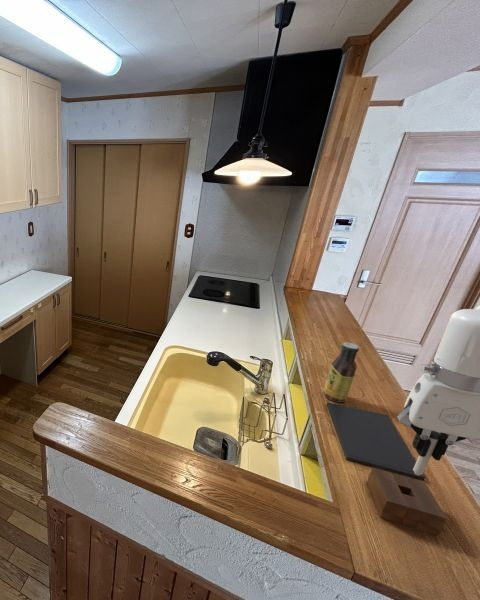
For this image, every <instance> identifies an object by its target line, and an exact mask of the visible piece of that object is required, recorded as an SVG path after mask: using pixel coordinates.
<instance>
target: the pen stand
mask: <svg viewBox="0 0 480 600" xmlns="http://www.w3.org/2000/svg"><path fill="white" fill-rule="evenodd" d="M365 483H366V487H367V490H368V491H369V494H370V496H371V499H372V501H373V504H374V507H375V508H376V511H377V514H378V517H379V518H381V519H383V520H386V521H390V522H393V523H396V524H400V525H402V526H406V527H407V528H408V527H409V528H412V529H415V530H418V531H420V532H424V533H427V534H431V535H434V536H437V537H438V536H439V534H440V533H441V531H442V529H443V528H444V526H445V523H446V522H447V520H448V518H447V516H446V514H445V513H444V511H443V510H442V507H441V506H440V504H439V503H438V501H437V500H436V498H435V496H434V494H433V492H432V491H431V490H430V488H429V486H428V484H427V483H426V481H425V480H424V481H423V480H419V479H416V478H412V477H408V476H405V475H401V474H397V473H393V472H390V471H386V470H382V469H379V468H375V467H372V468H371V470H370V472H369V475H368V478H367V480H366V482H365Z"/></svg>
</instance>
